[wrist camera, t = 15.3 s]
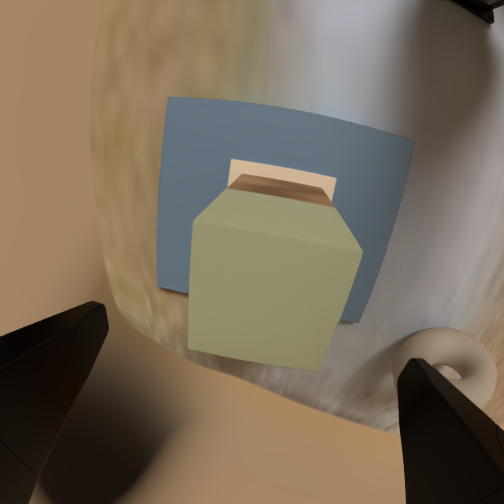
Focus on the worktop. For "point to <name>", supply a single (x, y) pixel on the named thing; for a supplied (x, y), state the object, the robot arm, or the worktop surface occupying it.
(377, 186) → the board
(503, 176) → the worktop surface
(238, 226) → the sage cube
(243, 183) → the walnut cube
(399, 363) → the donut
